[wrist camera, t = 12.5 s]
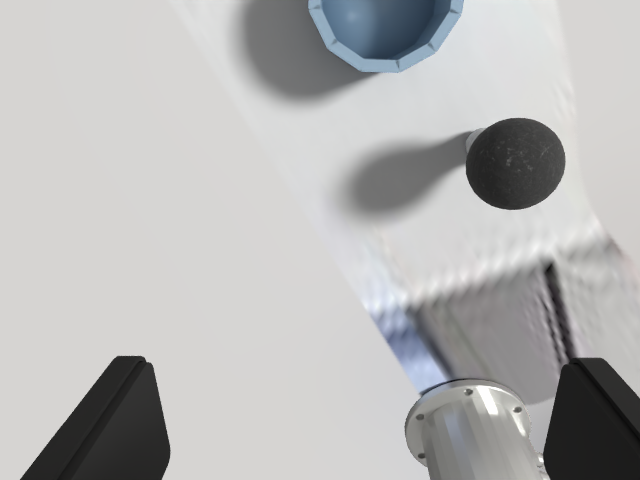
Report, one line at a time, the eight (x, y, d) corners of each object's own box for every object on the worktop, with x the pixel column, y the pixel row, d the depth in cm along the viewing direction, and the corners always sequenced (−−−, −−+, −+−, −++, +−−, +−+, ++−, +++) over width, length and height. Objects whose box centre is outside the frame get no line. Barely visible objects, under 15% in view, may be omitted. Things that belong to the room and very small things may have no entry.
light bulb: (428, 161, 34) (463, 202, 25) (464, 92, 32) (517, 109, 23) (490, 187, 35) (546, 237, 26) (530, 121, 33) (606, 150, 24)
